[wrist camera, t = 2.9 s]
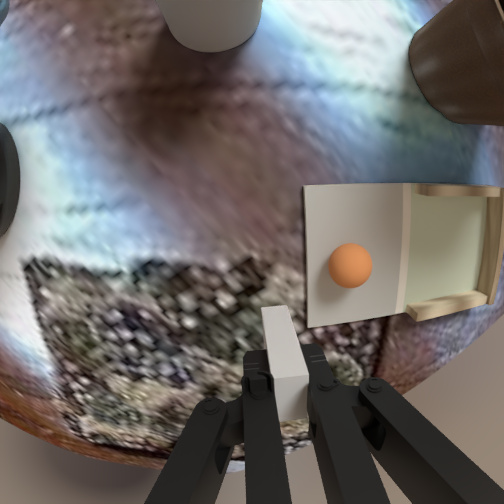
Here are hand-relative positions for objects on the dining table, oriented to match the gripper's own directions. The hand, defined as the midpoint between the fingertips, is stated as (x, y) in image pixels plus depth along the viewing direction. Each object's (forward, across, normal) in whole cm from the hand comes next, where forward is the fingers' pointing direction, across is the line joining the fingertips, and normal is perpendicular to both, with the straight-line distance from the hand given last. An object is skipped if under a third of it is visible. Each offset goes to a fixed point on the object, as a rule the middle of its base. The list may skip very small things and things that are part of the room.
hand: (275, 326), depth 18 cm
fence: (+11, +22, 0) cm, 24 cm away
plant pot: (+11, +23, +20) cm, 32 cm away
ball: (+8, +8, 0) cm, 11 cm away
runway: (+11, +16, 0) cm, 20 cm away
